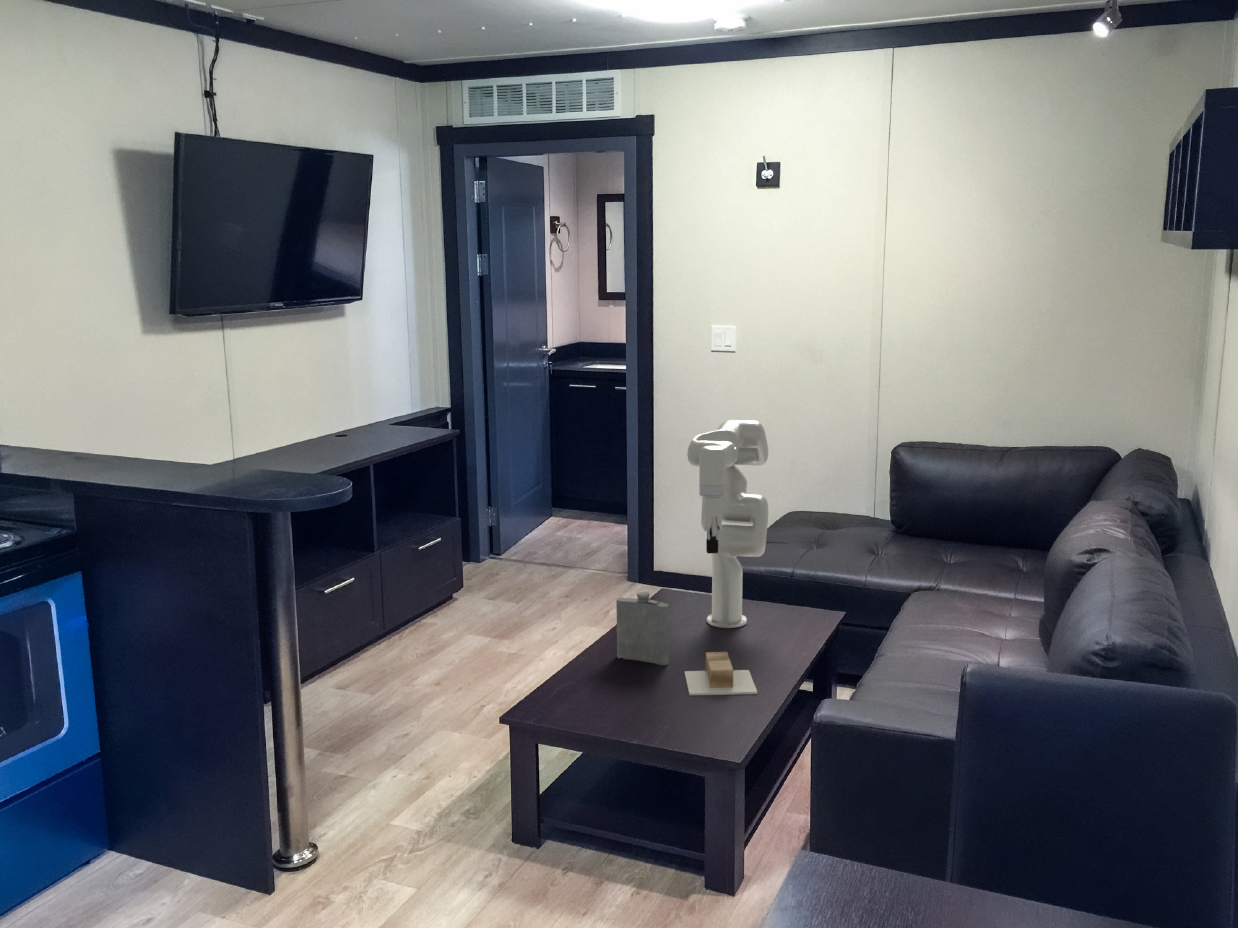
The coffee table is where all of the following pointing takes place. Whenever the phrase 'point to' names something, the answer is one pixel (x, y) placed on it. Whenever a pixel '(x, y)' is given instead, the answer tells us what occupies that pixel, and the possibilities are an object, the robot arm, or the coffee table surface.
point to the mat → (701, 686)
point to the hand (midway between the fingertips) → (712, 552)
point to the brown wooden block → (719, 670)
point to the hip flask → (643, 629)
